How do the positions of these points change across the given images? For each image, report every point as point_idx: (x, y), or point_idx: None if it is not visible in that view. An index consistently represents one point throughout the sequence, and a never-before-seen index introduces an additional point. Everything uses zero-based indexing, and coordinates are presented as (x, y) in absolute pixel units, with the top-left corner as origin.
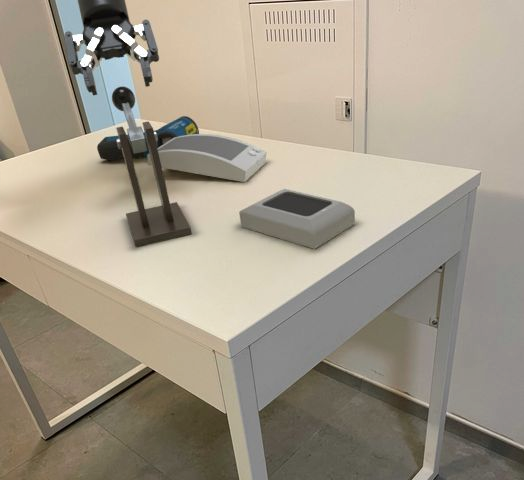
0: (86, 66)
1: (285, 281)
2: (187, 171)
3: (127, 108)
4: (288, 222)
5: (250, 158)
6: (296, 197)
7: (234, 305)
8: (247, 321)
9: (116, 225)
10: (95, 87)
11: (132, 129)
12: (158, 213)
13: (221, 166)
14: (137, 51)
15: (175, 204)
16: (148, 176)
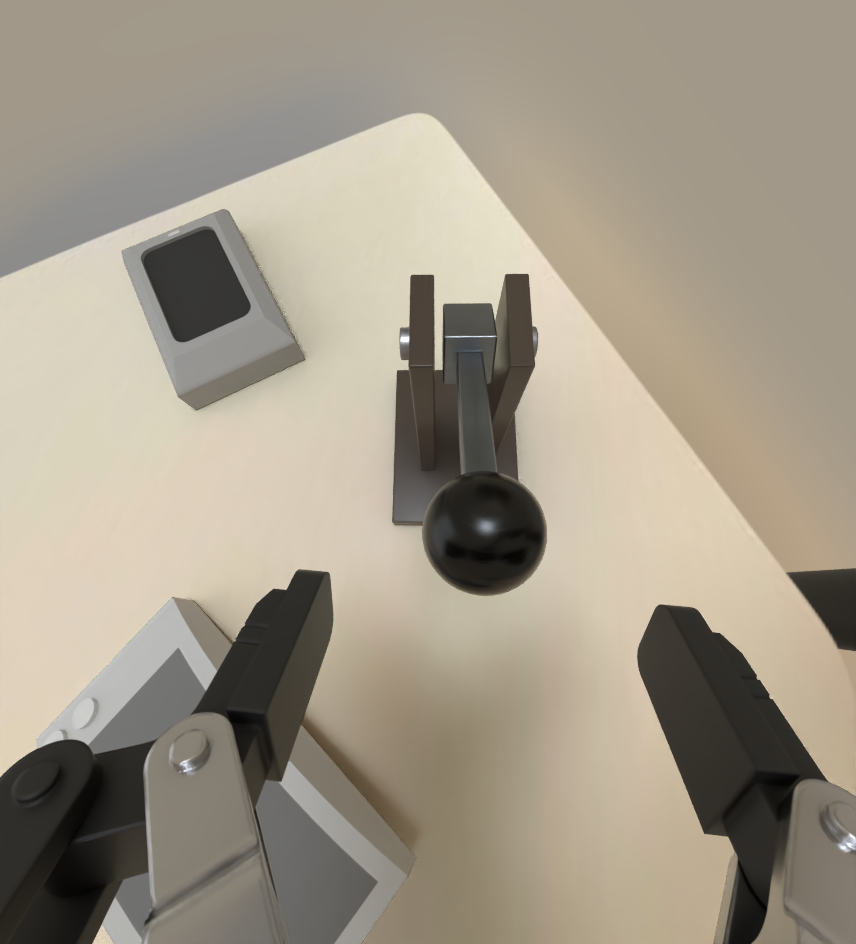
0: (799, 783)
1: (319, 176)
2: (307, 734)
3: (476, 444)
4: (242, 246)
5: (112, 678)
6: (177, 316)
7: (399, 156)
8: (396, 124)
9: (544, 508)
10: (658, 670)
11: (477, 330)
12: (445, 475)
13: (215, 649)
14: (229, 798)
15: (398, 506)
16: (422, 877)
